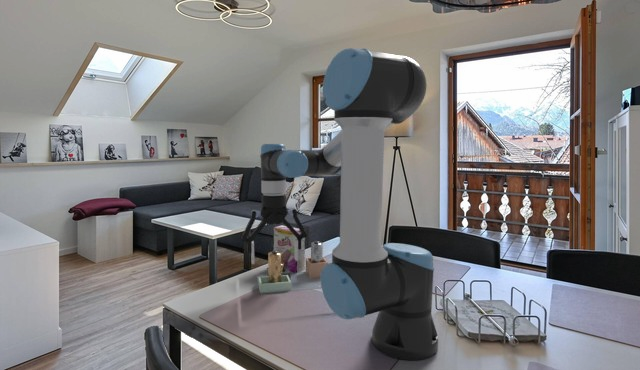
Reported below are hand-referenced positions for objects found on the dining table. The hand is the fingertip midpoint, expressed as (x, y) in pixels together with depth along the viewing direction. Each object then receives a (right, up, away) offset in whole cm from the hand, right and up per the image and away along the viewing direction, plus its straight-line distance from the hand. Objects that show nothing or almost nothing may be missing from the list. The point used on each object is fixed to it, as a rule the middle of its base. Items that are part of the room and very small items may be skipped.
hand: (274, 261), depth 117 cm
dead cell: (+13, -7, +13) cm, 20 cm away
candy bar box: (+3, -8, +19) cm, 21 cm away
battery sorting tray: (+6, -9, +7) cm, 13 cm away
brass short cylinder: (0, -7, +9) cm, 11 cm away
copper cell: (0, -8, +1) cm, 9 cm away
